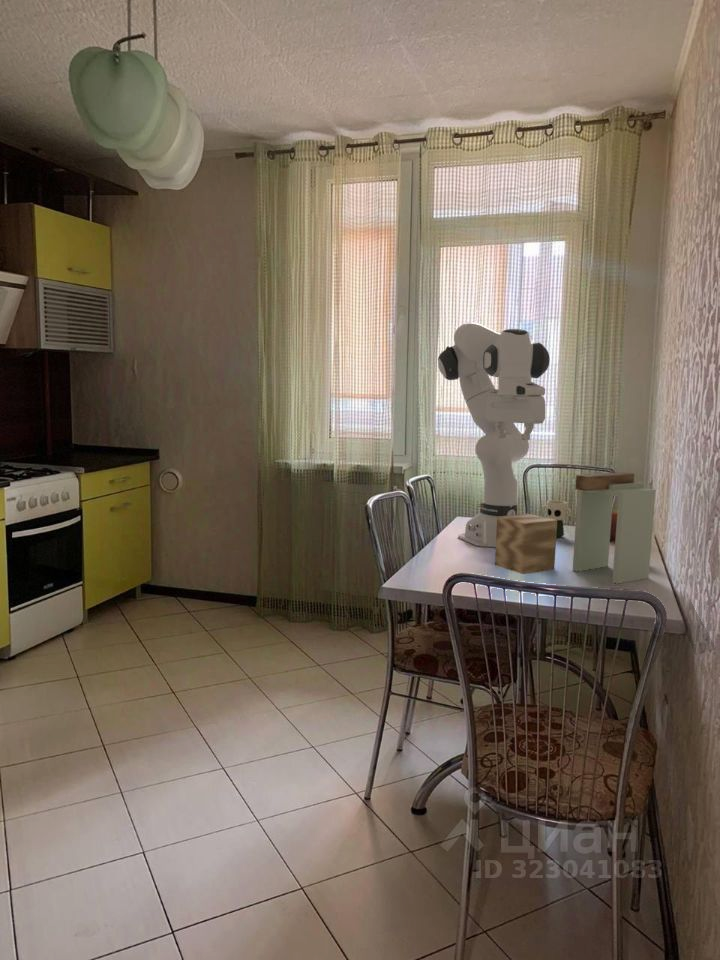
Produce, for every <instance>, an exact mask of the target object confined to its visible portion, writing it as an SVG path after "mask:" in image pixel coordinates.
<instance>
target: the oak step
mask: <svg viewBox="0 0 720 960" xmlns="http://www.w3.org/2000/svg"><path fill="white" fill-rule="evenodd" d="M556 534H557V520H554V519H550V518H547V517H545V516H540V515H535V514H531V513H520V514H517V515H509V516H499V517H497V531H496V547H495V550H494V553H495V556H494V566H497V567H501V568H504V569H506V570H509V571H513V572H515V573H519V574H522V575H525V574H526V575H527V574H531V573H532V574H533V573H538V571H539V572H545V571H550V569H551V570H555V564H556V563H555V561H556V546H557V537H556ZM544 570H545V571H544Z"/></svg>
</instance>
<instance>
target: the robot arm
mask: <svg viewBox="0 0 720 960" xmlns="http://www.w3.org/2000/svg"><path fill="white" fill-rule="evenodd" d="M453 343H454V345H453V346H446V347H445V349H444V350H443V351H441V353H439V355H438V358H437V360H438V361H437V363H438V364H437V366H438V370H439V371H440V373H441V375H442V376H443V377H444V379H446V380H447V381H456V380H458V379H459V384H460V389H461V392H462V397H463V398H464V401H465V403H466V407H467V408H468V412H469V413H470V416H471V419H472V420H473V422H474V424H475V425H476V426H477V427H478V428H479V429H480V430H481V431H482V432H483V434H484V435H483V436H481V437H480V438H479V439H477V442H476V443H475V455H476V457H477V459H478V460H479V462H480V463H481V468H482V471H483V472H482V473H483V479H484V489H483V490H484V493H483V494H484V495H483V502H482V503H478V508H480V509H479V512H478V513H477V514H475V515H474V516H473V517H472V518H470V519H469V520H468V521H467V522H466V524H465V531H464V532H463V533H459V534H458V536H457V538H458V539H460V540H462V539H463V540H462V541H465V542H467V543H470V544H472V545H474V546H477V547H488V548H496V531H497V517H499V516H509V515H518V509H519V508H518V503H517V499H518V498H517V497H518V496H517V495H518V481H517V479H516V477H515V475H514V470H513V469H514V468H513V463H516V462H518V461H520V460H521V459H523V458H525V456H527V454H528V453H529V448H530V442H529V441H530V440H531V433H532V432H533V429H534V428H535V427H534V426H535V424H536V425H537V424H539V425H541V424H543V423H544V421H545V419H546V400H545V398H544V396H545V394H546V388H545V387H544V386H542V385H539V384H537V383H535V382H532V379H539V378H540V377H541V376H543V374H545V373H546V371H547V370H548V369H549V366H550V361H551V360H550V353H549V351H548V349H547V348H546V347H545V346H544V345H543V343H541V342H532V339H531V335H530V332H529V331H527V330H525V329H520V328H519V329H518V328H508V329H504V330H502V331H501V333H499V332H496V331H494V330H493V329H490V328H488V327H487V326H484V325H482V324H479V323H475V322H466V323H462V324H460V325H459V326H458V327H457V328H456V330H455V331H454V334H453ZM491 377H494V378H498V379H497V380H498V381H497V382H498V383H497V384H498V385H497V386H498V387H497V389H496V387H495V385H494V383H493V382H492V379H491ZM515 424H524V425H523V426H524V428H525V429H524V432H523V433H521V431H520V430H519V429H518V428H517V426H516V425H515Z"/></svg>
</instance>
